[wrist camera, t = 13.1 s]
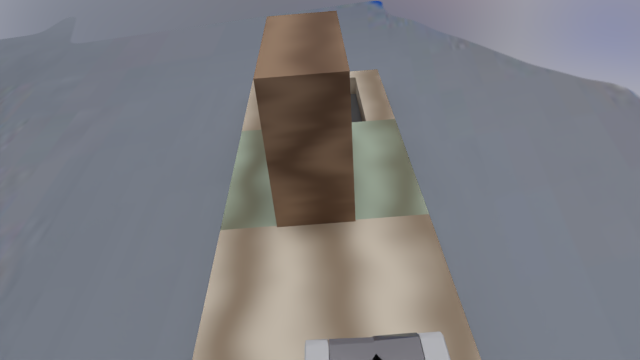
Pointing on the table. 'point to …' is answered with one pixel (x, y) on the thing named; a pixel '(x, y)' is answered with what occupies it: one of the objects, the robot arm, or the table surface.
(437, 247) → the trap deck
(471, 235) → the table surface
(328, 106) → the walnut block
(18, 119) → the table surface
